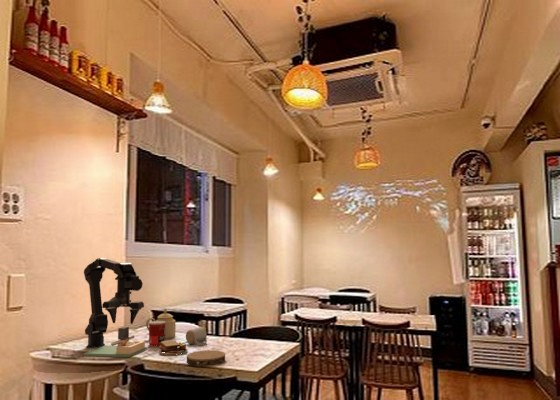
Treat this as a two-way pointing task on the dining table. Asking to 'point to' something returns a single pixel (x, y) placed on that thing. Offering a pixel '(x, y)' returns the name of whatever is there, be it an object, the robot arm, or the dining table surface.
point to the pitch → (118, 350)
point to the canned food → (156, 333)
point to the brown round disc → (206, 358)
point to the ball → (130, 343)
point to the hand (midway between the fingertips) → (122, 323)
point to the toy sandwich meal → (172, 347)
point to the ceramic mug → (196, 336)
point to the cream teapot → (166, 324)
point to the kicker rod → (123, 336)
